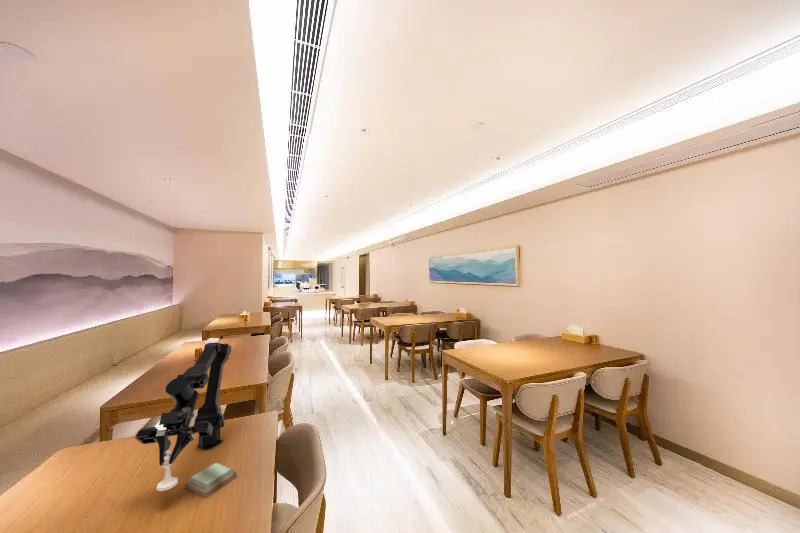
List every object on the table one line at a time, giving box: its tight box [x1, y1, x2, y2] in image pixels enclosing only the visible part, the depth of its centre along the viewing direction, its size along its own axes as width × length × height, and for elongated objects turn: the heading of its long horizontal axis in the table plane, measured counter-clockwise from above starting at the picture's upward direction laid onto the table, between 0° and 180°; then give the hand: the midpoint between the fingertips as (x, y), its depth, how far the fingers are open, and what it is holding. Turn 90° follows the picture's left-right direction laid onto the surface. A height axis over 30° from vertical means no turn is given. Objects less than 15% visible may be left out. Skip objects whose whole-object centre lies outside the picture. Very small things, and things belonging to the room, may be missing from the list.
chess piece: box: [156, 448, 179, 492], centre depth 85 cm, size 5×5×10 cm
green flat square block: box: [184, 462, 238, 499], centre depth 93 cm, size 10×10×3 cm
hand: (165, 464), depth 83 cm, fingers closed on chess piece
